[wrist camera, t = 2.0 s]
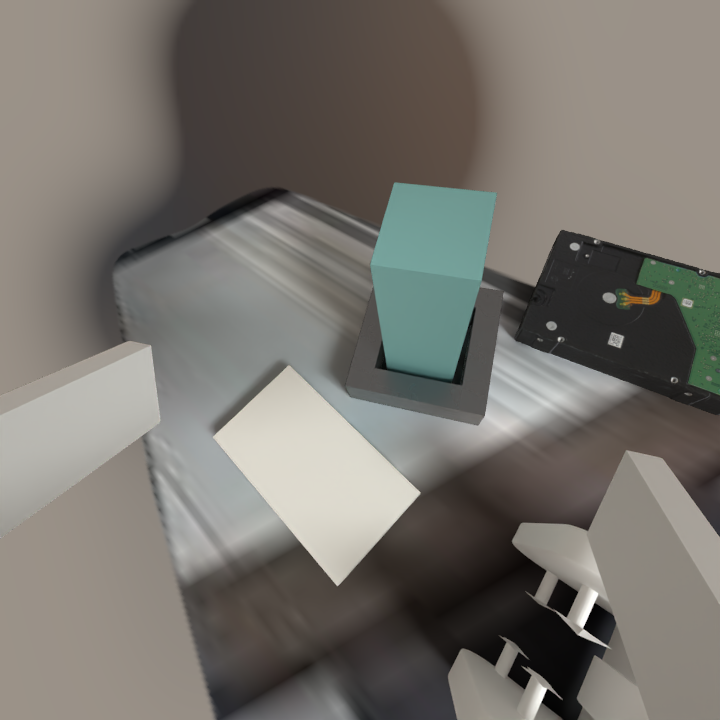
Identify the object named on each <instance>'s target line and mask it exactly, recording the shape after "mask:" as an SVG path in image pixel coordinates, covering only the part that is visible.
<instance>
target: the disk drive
mask: <svg viewBox="0 0 720 720" xmlns="http://www.w3.org/2000/svg"><path fill="white" fill-rule="evenodd" d="M515 340H516V341H518V342H521V343H524V344H526V345H529V346H531V347H533V348H535V349H538V350H540V351H543V352H546V353H551V354H553V355H556V356H559V357H561V358H564V359H567V360H570V361H572V362H575V363H578V364H580V365H584V366H586V367H589V368H591V369H594V370H597V371H600V372H602V373H604V374H608V375H610V376H613V377H616V378H618V379H621V380H624V381H627V382H629V383H632V384H635V385H637V386H640V387H643V388H645V389H648V390H651V391H654V392H656V393H659V394H662V395H664V396H667V397H669V398H671V399H673V400H675V401H678V402H681V403H683V404H686V405H691V406H693V407H696V408H699V409H701V410H704V411H706V412H709V413H712V414H715V415H720V273H714V272H710V271H706V270H703V269H699V268H697V267H693V266H689V265H686V264H683V263H679V262H675V261H673V260H669V259H664V258H662V257H658V256H655V255H651V254H646V253H643V252H640V251H637V250H633V249H630V248H626V247H623V246H619V245H615V244H612V243H609V242H605V241H601V240H598V239H595V238H592V237H589V236H585V235H581V234H576V233H573V232H568V231H565V230H561V231H560V233H559V235H558V236H557V238H556V241H555V242H554V244H553V247H552V249H551V251H550V254H549V256H548V259H547V261H546V263H545V266H544V268H543V271H542V273H541V276H540V278H539V280H538V282H537V285H536V287H535V290H534V292H533V295H532V297H531V300H530V302H529V304H528V307H527V309H526V312H525V314H524V317H523V319H522V322H521V324H520V327H519V329H518V331H517V334H516V336H515Z"/></svg>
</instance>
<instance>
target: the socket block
mask: <svg viewBox="0 0 720 720" xmlns="http://www.w3.org/2000/svg"><path fill="white" fill-rule="evenodd" d="M503 293H504V291H499V290H492V289H486V288H479V291H478V294H477V298H476V301H475V305H474V308H473V311H472V315H471V318H470V322H469V325H470V326H471V327H470V332H469V338H468V344H467V349H466V355H465V360H464V366H463V371H462V377H461V383H460V385H456V384H451V383H446V382H441V381H436V380H431V379H426V378H421V377H416V376H411V375H407V374H402V373H397V372H392V371H387V370H382V369H381V367H382V363H383V359H384V356H385V352H384V346H383V340H382V334H381V328H380V322H379V316H378V310H377V304H376V298H375V291H374V286H373V290H372V293H371V297H370V300H369V304H368V307H367V311H366V314H365V318H364V321H363V325H362V328H361V332H360V335H359V339H358V342H357V346H356V349H355V353H354V356H353V359H352V363H351V366H350V370H349V373H348V377H347V380H346V384H345V387H346V389H347V391H348V393H349V395H350V397H352V398H356V399H361V400H365V401H370V402H374V403H379V404H383V405H388V406H392V407H397V408H401V409H406V410H410V411H415V412H419V413H424V414H428V415H433V416H437V417H442V418H446V419H451V420H456V421H460V422H465V423H469V424H474V425H479V423H480V422H481V420H482V419H483V418H484V416H485V411H486V404H487V398H488V391H489V385H490V378H491V372H492V365H493V358H494V352H495V345H496V339H497V332H498V326H499V319H500V312H501V306H502V299H503Z"/></svg>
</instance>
